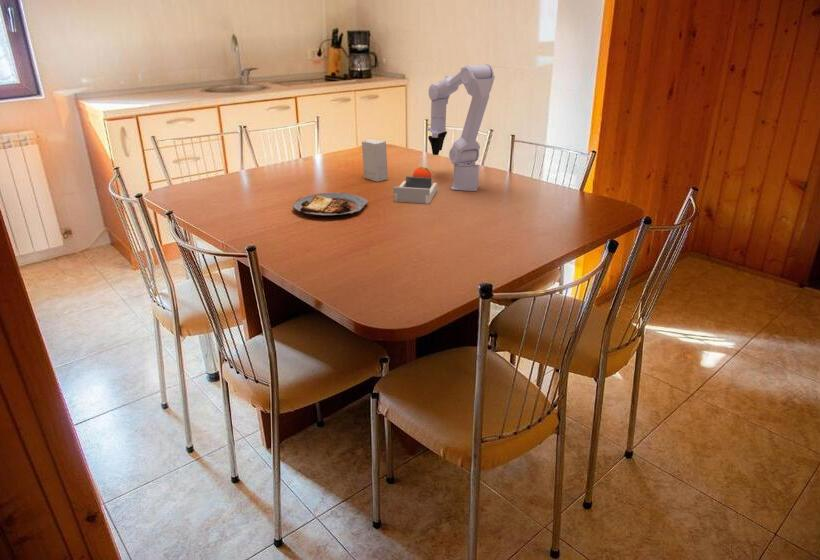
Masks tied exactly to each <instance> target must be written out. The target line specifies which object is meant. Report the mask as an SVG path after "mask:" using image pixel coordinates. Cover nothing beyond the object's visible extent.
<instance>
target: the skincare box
mask: <svg viewBox="0 0 820 560" xmlns="http://www.w3.org/2000/svg"><path fill="white" fill-rule="evenodd" d="M361 148H362V162H363V178H364V179H365V178H367V179H366V180H369V179H370V181H374V182H383V181H388V179H389V175H388V171H389V170H388V157H387V154H388V153H387V141H386V140H381V139H375V138H370V139H366V140H362V141H361Z"/></svg>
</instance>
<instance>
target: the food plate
mask: <svg viewBox="0 0 820 560" xmlns="http://www.w3.org/2000/svg"><path fill="white" fill-rule="evenodd" d="M332 200H336V201H332ZM348 202H350V203H348ZM331 203H332V205H331ZM347 203H348V204H347ZM352 203H353V204H352ZM368 203H369V200H368V199H366V198H364V197H362V196H360V195H357V194H353V193H346V192H324V193H321V192H320V193H315V194H308V195H307V196H303V197H300V198H298V199H297V200H296V201H295V202H294V203H293V204H292V207H291V208H292V209H294V210H295V211H297V212H298V213H301V214H304V215H313V216H321V217H328V216H329V217H333V216H345V215H350V214H351V215H352V214H354V213H358V212H360V211H361V210H362V209H363V208H364V207H365V206H366V205H367V204H368ZM350 204H352V205H353V206H354V205H355V206H356V207H355V206H354V209H352V205H350ZM330 205H331V206H333V207H332V208H331V207H330V208H329V207H328V206H330ZM327 209H328V210H327Z"/></svg>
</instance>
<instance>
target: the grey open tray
mask: <svg viewBox="0 0 820 560" xmlns="http://www.w3.org/2000/svg"><path fill="white" fill-rule="evenodd" d="M437 191H438V183H437V182H433V183H432V185H431V188H430V189H427V188H411V187H406V180H403V181H402V182H401V184H400V185H399V186H394V187H393V202H394V203H395V202H396V203H397V202H398V203H412V204H414V203H415V204H424V203H425V204H426V205H427V204H428V205H429V204H430V203H431V201H432V200H433V198H434V196H435V194H436V193H437Z"/></svg>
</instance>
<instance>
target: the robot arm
mask: <svg viewBox="0 0 820 560" xmlns="http://www.w3.org/2000/svg"><path fill="white" fill-rule="evenodd" d="M444 77H445V78H444V79H442V80H439V82H438V83H436V84H435V83H431V85H429V88H428V97H429V99H430V100H431V101H430V102H431V103H430V104H431V105H430V127H427V131H430V132H431V135H429V136H428V137H427V138H428V141H429V142H430V143H429V144H430V146H431V152H432V156H439V153H440V151H442V150H443V147H444V146H443V145H444V141H445V138H446V136H447V134H448V131H447V129H446V125H447V122H446V121H447V105H448V104H449V99H450V97H451V95H452V94H453V93H454V94H455V92H457V91H458V89H459V87H460V86H461V85H463V86H464V89H465V90H466V92H467V94H468V95H470V96H471V101H470V105H469V107H468V111H467V114H466V118H465V121H464V125H463V128H462V132H461V136H460V137H459V138H458V139H456V140H455V141H454V142H453V145H452V147H451V148H450V149H449V153H448V157H449V160H450V162H451V164H452V165H453V177H452V178H453V179H452V180H453V182H452V186H451V187H450V190H452V191H468V192H476V191H477V190H478V188H479V185H480V180H479V179H480V165H478V164H476V162H477V161H478V160H479V157H480V148H481V145H480V144H479V142H478V141H477V137H478V134H479V131H480V128H481V124H482V122H483V118H484V115H485V111H486V108H487V105H488V102H489V99H490V92H491V90H492V87H493V84H494V80H495V78H496V77H495V72H494V69H493V66H492V65H491V64H483V65H482V64H481V65H480V64H479V65H476V64H475V65H464V66H463V67H461V69H460V71H459V72H457V73H456V74H455V75H454V76H452V75H446V76H444Z"/></svg>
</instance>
